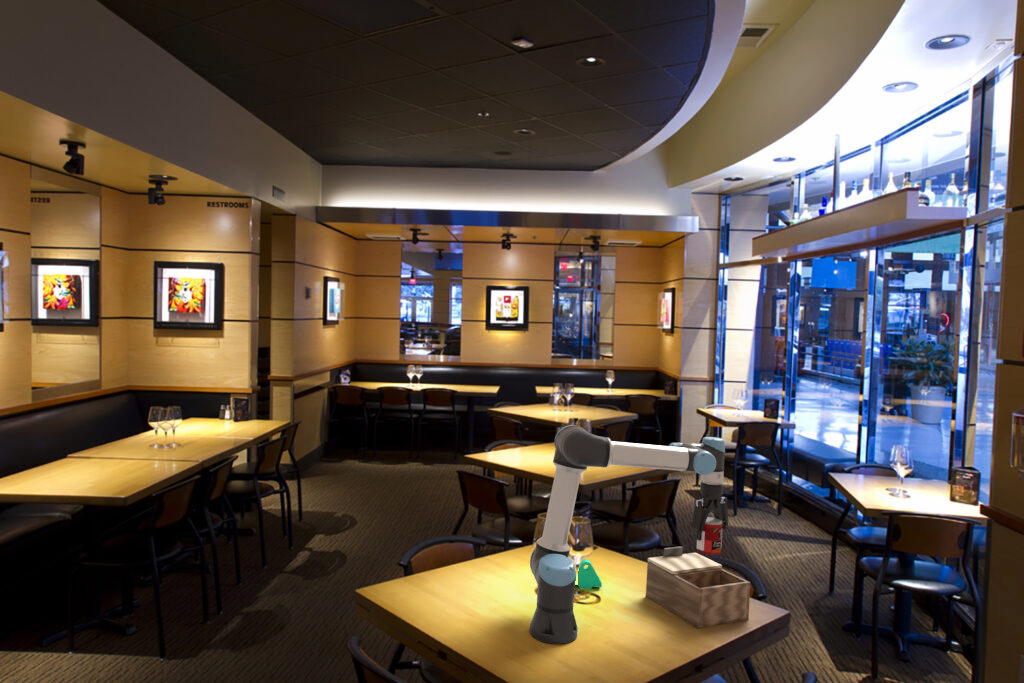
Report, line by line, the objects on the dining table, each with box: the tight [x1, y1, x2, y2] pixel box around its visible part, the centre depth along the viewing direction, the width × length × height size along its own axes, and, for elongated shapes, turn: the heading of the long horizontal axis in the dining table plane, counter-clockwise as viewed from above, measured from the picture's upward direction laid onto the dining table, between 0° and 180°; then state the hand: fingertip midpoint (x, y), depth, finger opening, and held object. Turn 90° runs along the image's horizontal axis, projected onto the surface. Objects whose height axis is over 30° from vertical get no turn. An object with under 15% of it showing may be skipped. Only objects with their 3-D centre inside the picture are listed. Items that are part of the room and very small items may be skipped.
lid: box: [647, 545, 723, 574], centre depth 243 cm, size 22×14×4 cm, turn 115°
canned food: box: [697, 516, 723, 556], centre depth 229 cm, size 8×8×11 cm
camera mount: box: [575, 558, 603, 590], centre depth 253 cm, size 12×8×10 cm, turn 90°
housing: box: [645, 560, 751, 630], centre depth 236 cm, size 22×28×13 cm
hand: (709, 547), depth 229 cm, fingers closed on canned food, 8 cm apart
